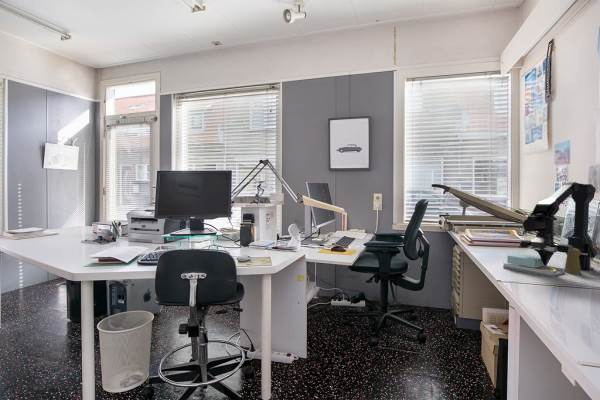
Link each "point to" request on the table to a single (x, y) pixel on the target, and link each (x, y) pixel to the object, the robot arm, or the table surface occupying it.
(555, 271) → the board
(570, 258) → the cork
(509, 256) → the cover
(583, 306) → the table surface
